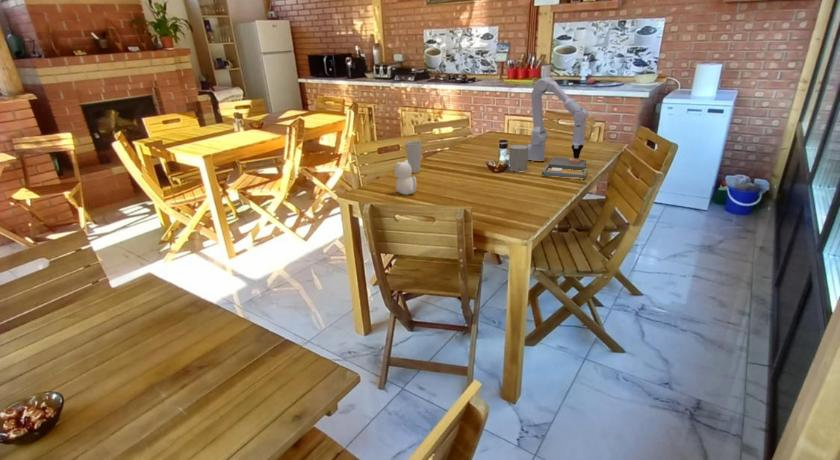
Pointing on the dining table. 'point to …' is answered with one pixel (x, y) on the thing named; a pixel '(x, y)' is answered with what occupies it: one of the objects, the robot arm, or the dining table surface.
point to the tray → (562, 173)
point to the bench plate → (566, 164)
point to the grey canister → (518, 157)
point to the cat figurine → (405, 178)
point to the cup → (414, 155)
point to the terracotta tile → (574, 161)
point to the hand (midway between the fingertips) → (576, 158)
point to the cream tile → (557, 170)
